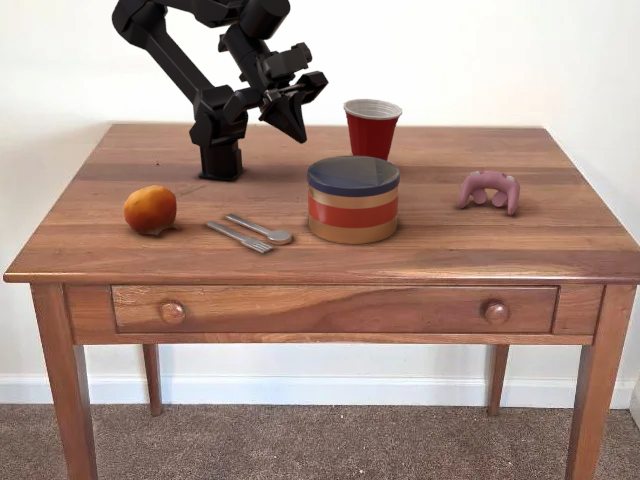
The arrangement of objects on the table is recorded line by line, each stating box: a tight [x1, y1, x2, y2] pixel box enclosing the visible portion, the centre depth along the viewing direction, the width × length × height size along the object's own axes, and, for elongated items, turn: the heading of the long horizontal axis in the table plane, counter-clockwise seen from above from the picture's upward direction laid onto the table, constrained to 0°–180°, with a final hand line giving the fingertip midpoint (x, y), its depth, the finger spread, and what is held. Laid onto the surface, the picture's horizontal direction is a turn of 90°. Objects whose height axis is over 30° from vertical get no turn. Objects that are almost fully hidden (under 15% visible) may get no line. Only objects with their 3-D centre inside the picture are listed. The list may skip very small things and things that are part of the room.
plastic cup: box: [342, 98, 403, 161], centre depth 137 cm, size 11×11×12 cm
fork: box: [205, 220, 274, 255], centre depth 114 cm, size 14×2×1 cm, turn 49°
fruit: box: [122, 184, 179, 237], centre depth 115 cm, size 8×8×8 cm
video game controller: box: [457, 170, 521, 216], centre depth 125 cm, size 10×5×7 cm, turn 71°
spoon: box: [225, 213, 292, 246], centre depth 116 cm, size 14×4×1 cm, turn 49°
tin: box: [306, 154, 401, 245], centre depth 116 cm, size 14×14×9 cm
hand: (304, 142), depth 119 cm, fingers closed
